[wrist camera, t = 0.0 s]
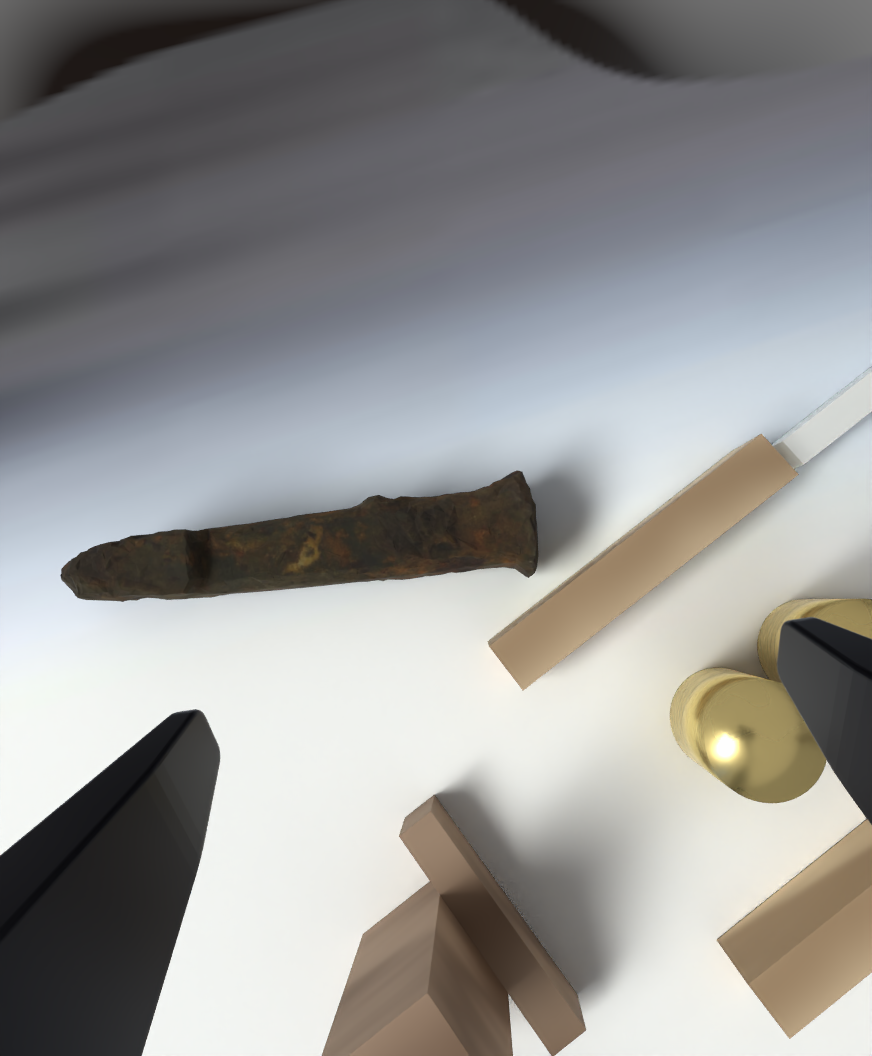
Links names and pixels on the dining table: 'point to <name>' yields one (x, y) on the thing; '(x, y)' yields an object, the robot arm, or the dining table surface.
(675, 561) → the wooden blocks
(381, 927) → the brown t-shaped block
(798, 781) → the puck
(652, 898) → the dining table surface
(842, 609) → the puck
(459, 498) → the hand tool
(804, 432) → the white tray
